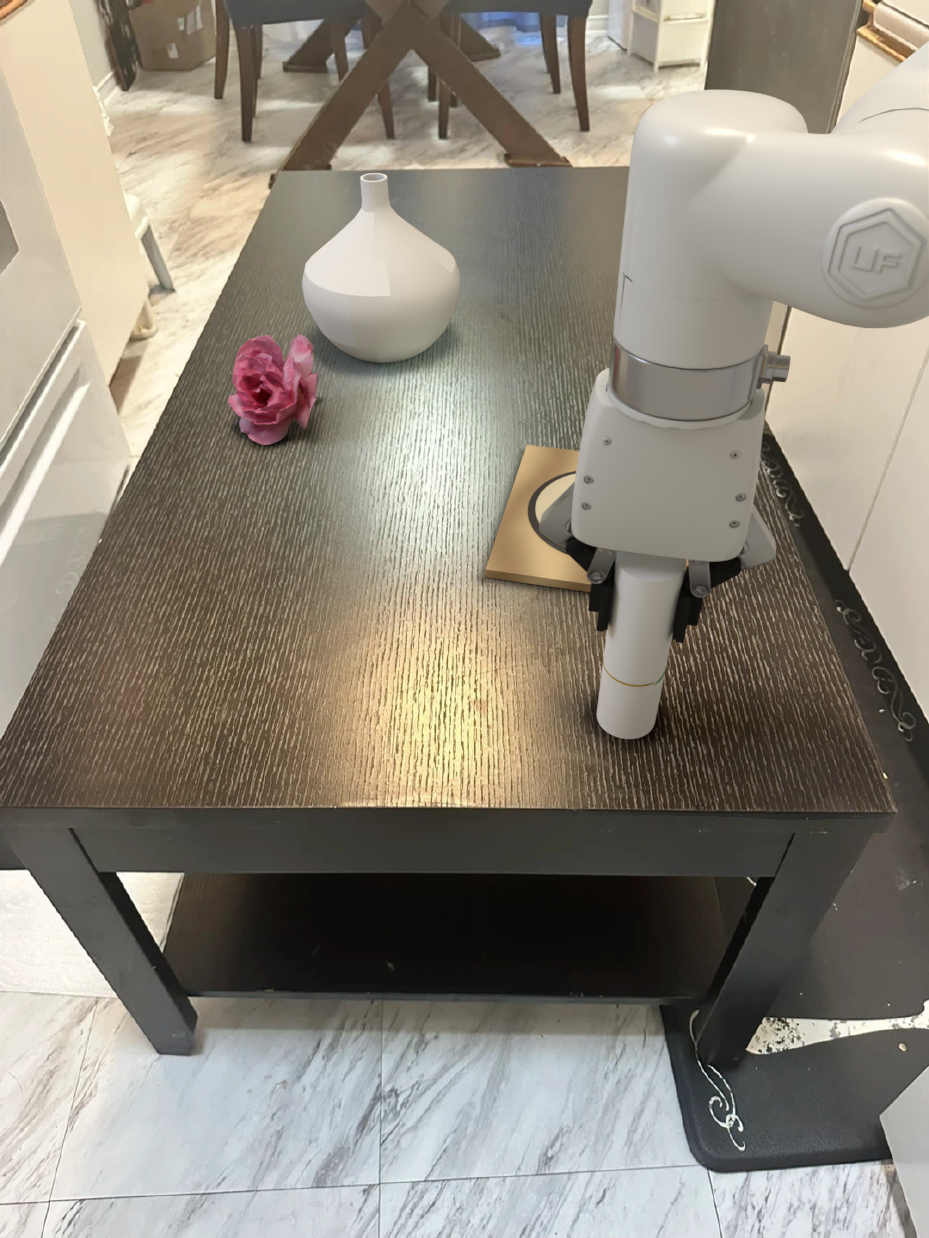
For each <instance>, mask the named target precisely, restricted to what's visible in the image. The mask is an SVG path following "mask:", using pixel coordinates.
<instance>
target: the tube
mask: <svg viewBox="0 0 929 1238" xmlns="http://www.w3.org/2000/svg"><path fill="white" fill-rule="evenodd" d="M685 569H686V559H680V558H672V557H664V556H656V555H648V554H641V553H633V552H626V551H619V550H618V552H617V557H616V565H615V572H614V585H613V593H612V601H611V608H610V616H609V623H608V629H607V630H606V634H605V635H606V636H605V643H604V650H603V651H604V652H603V659H602V667H601V675H600V685H599V691H598V700H597V709H596V714H595V715H596V719H597V722H598V724H599V726H600V727H601V728H602V730H604V731H605V732H606V733H607V734H609V735H611V736H613V737H615V738H619V739H622V740H623V739H624V740H636V739H640V738H642V737H645V736H646V735H648V734H649V733H650V732H651V731H652V730H653V729H654V727H655V724H656V719H657V714H658V710H659V704H660V700H661V695H662V691H663V690H662V689H663V685H664V680H665V675H666V669H667V664H668V660H669V654H670V649H671V644H672V641H673V640H672V636H673V628H674V623H675V618H676V613H677V608H678V603H679V597H680V592H681V587H682V584H683V579H684V574H685Z"/></svg>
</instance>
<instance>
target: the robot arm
mask: <svg viewBox="0 0 929 1238" xmlns="http://www.w3.org/2000/svg"><path fill="white" fill-rule="evenodd" d="M627 178H628V179H627V189H626V199H625V208H624V219H623V227H622V238H621V247H620V258H619V267H618V277H617V278H618V279H617V288H616V289H617V290H616V298H615V299H616V300H615V309H614V321H613V330H612V336H611V337H612V338H611V347H610V357H609V366H608V367H607V368H605V369H603V370H602V371H600V372H599V373H598V374H597V376H596V378H595V380H594V383H593V386H592V390H591V393H590V396H589V401H588V404H587V408H586V413H585V417H584V421H583V427H582V432H581V438H580V445H579V450H578V451H579V457H578V463H577V470H576V478H575V482H574V483H573V484H572V485H571V486H570V487H569V488H568V489H567V490H566V491H565V492H564V493H563V494H562V495H561V496H560V497H558V498H557V499H556V500H555V501H554V502H553V503H552V504H551V505H550V506H549V507H548V508H547V509H546V510H545V511H544V512H543V514H542V516H541V520H540V523H539V528H538V529H539V531H540V532H541V533H542V534H543V535H545V536H546V537H548V538H549V539H551V540H552V541H553V542H555V543H556V544H558V545H559V546H563V547H564V548H565V550H566V552H567V554H568V555H569V556H570V557H571V558H572V559H573V560H574V561H576V562H577V563H578V564H579V565H580V566H581V567H582V568H583V569H584V570H585V571H586V572H587V579H588V581H589V582H591V589H590V592H589V598H588V599H589V600H588V607H587V608H588V609H587V610H588V612H593V613H597V620H596V628H595V629H596V631H595V632H600V633H601V632H603V633H605V631H607V629H608V623H609V616H610V608H611V601H612V593H613V585H614V572H615V565H616V561H614V559H615V556H616V554H617V551H618V550H619V551H626V552H633V553H641V554H648V555H656V556H664V557H672V558H680V559H688V566H687V567H686V570H685V574H684V579H683V584H682V587H681V592H680V597H679V603H678V608H677V613H676V618H675V623H674V628H673V635H672V640H671V641H674V643H677V644H679V643H680V644H684V642H685V641H684V640H685V637H686V632H687V627H688V626H692V627H698V624H699V620H700V615H701V611H702V607H703V601H704V599H705V598H707V597H708V596H710V595H711V593H712V589H714V588H715V587H719V585H722V584H725V582H727V581H730V580H731V579H733V578H735V577H737V576H739V575H740V574H741V572H742V571H744V570H746V571H749V570H752V569H754V568H757V567H760V566H763V565H766V564H769V563H771V562H774V561H775V560H776V557H777V543H776V540H775V538H774V536H773V535H772V533H771V531H770V529H769V528H768V526H767V524H766V523H765V520H764V519H763V517H762V516H761V514H760V512H759V511H758V508H757V507H756V505H755V504H754V502H755V496H756V491H757V490H756V489H757V484H758V478H759V471H760V464H761V457H762V456H761V455H762V447H763V446H762V444H763V433H764V428H765V417H766V395H765V390H764V388H763V387H762V386H763V384H765V385H767V384H768V385H770V384H771V382H776V383H777V382H778V383H786V382H787V380H788V375H789V373H790V367H791V355H785V354H777V352H776V351H772V350H769V344H765V342H766V338H767V334H768V331H769V324H770V321H771V317H772V312H773V308H774V303H775V302H777V303H779V304H782V305H785V306H787V307H790V308H793V309H796V310H798V311H801V312H803V313H806V314H809V315H812V316H815V317H817V318H820V319H823V320H826V321H830V322H833V323H837V324H840V325H844V326H849V327H855V328H861V329H889V328H890V329H891V328H898V327H901V326H906V325H910V324H913V323H915V322H916V323H917V322H918V321H921V320H924V319H926V318H928V317H929V40H928V41H927V42H925V43H924V44H923V45H922V46H920V47H919V48H918V49H917V50H915V51H914V52H913V53H912V54H910V55H909V56H908V57H907V58H905V59H904V60H903V61H902V62H901V63H899V64H898V65H897V66H896V67H894V68H893V69H892V70H890V71H889V72H888V73H887V74H886V75H884V77H882V78H881V79H879V80H878V81H877V82H876V83H875V84H874V85H873V86H872V87H871V88H869V89H868V90H867V91H866V92H865V93H864V94H863V95H861V97H860V98H858V99H857V100H856V101H855V102H854V103H853V104H852V105H851V106H850V107H849V108H848V109H847V110H846V112H844V114H843V115H842V116H841V118H840V119H839V120H838V122H837V123H836V124H835V126H834V127H833V128H832V130H831V132H830V133H810V132H809V131H808V126H807V124H806V121H805V118H804V117H803V115H802V114H801V113H800V111H799V110H798V109H797V108H796V107H795V106H794V105H792V104H790V103H788V102H787V101H784V100H782V99H779V98H778V97H775V96H771V95H769V94H764V93H760V92H755V91H754V92H753V91H747V90H739V89H738V90H737V89H702V90H701V89H700V90H699V89H698V90H691V91H684V92H680V93H677V94H673V95H670V96H667V97H664V98H661V99H659V100H657V101H656V102H655V103H653V104H652V105H651V106H650V107H649V108H648V109H646V111H645V112H644V113H643V115H642V116H641V118H640V120H639V122H638V123H637V125H636V128H635V131H634V134H633V137H632V146H631V152H630V160H629V168H628V177H627Z"/></svg>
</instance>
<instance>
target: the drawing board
mask: <svg viewBox="0 0 929 1238" xmlns="http://www.w3.org/2000/svg"><path fill="white" fill-rule="evenodd" d="M578 457H579V450H575V449H567V448H559V447H558V448H557V447H550V446H549V447H548V446H542V445H541V446H540V445H532V444H526V446H525V449H524V450H523V454H522V458H521V460H520V463H519V467H518V469H517V470H518V471H517V472H516V476H515V478H514V481H513V484H512V488H511V491H510V494H509V497H508V500H507V503H506V506H505V509H504V511H503V515H502V518H501V521H500V524H499V527H498V530H497V533H496V535H495V540H494V543H493V545H492V548H491V552H490V555H489V558H488V561H487V564H486V567H485V578H486V579H494V580H501V581H507V582H514V583H520V584H521V583H522V584H529V585H536V586H541V587H549V588H556V589H561V590H563V589H564V590H570V591H575V592H576V591H577V592H583V593H590V589H591V582H589V581H588V579H587V572H586V571H585V570H584V569H583V568H582V567H581V566H580V565H579V564H578V563H577V562H576V561H574V560H573V559H572V558H571V557H570V556H569V555H568V554H567V552H566V550H565V548H564V547H563V546H559V545H558V544H556V543H555V542H553V541H552V540H551V539H549V538H548V537H546V536H545V535H543V534H542V533H541V532H540V531H539V529H538V528H539V523H540V520H541V516H542V514H543V512H544V511H545V510H546V509H547V508H548V507H549V506H550V505H551V504H552V503H553V502H554V501H555V500H556V499H557V498H558V497H560V496H561V495H562V494H563V493H564V492H565V491H566V490H567V489H568V488H569V487H570V486H571V485H572V484H573V483H574V482H575V478H576V470H577V463H578ZM617 552H618V551H617ZM616 557H617V554H616V556H615V559H614V561H616ZM687 566H688V559H686V567H687ZM685 570H686V569H685Z"/></svg>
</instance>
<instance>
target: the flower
mask: <svg viewBox="0 0 929 1238" xmlns="http://www.w3.org/2000/svg"><path fill="white" fill-rule="evenodd" d="M289 348H290V349H289V351H288V352H287V354H286V356H285V359H284V354H283V351H282V348H281V347H280V346H279V344H278V343H277V342H276V341H275V340H274V338H273V337H272V336H271V335H270V334H265V335H259V336H256V337H251V338H248V339H246V341H244V343H243V344H242V346H241V347H239V349H238V351H237V352H236V355H235V357H236V358H235V360H234V366H233V370H232V379H231V380H232V384H233V386H234V389H235V390H236V393H233V394H231V395H229V396H228V399H227V403H228V404H229V406H230V407H231V409H232V411H233V412H235V415H237V416H239V417H240V420H239V424H238V426H239V429H240V433H245V434H246V435H247V437H248V439H250V440H251V441H253V442H255V443H257V444H259V445H260V446H269V445H272V444H275V443H277V442H280V441H282V440H283V439H284V438H285V437H286V435H287V433H288V431H289V428H290V426H291V424H292V422H293V421H296V422H297V424H298V425H299V426H300V427H301V428H302V429H307V427H308V426H309V425H308V424H309V421H310V417H311V414H312V413H311V412H312V410H313V407H314V404H315V402H316V401H319V399H318V398H317V390H318V389H317V388H318V382H319V381H318V380H319V373H318V372H316V373H313V367H314V364H315V363H314V362H315V358H314V356H315V355H314V346H313V344H312V342H311V341H310V340H309V339H308V338H307V337H306V336H305V335H303V334H302V333H299V334H297V335H296V337H295V338H292V340H291V342H290V345H289Z"/></svg>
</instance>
